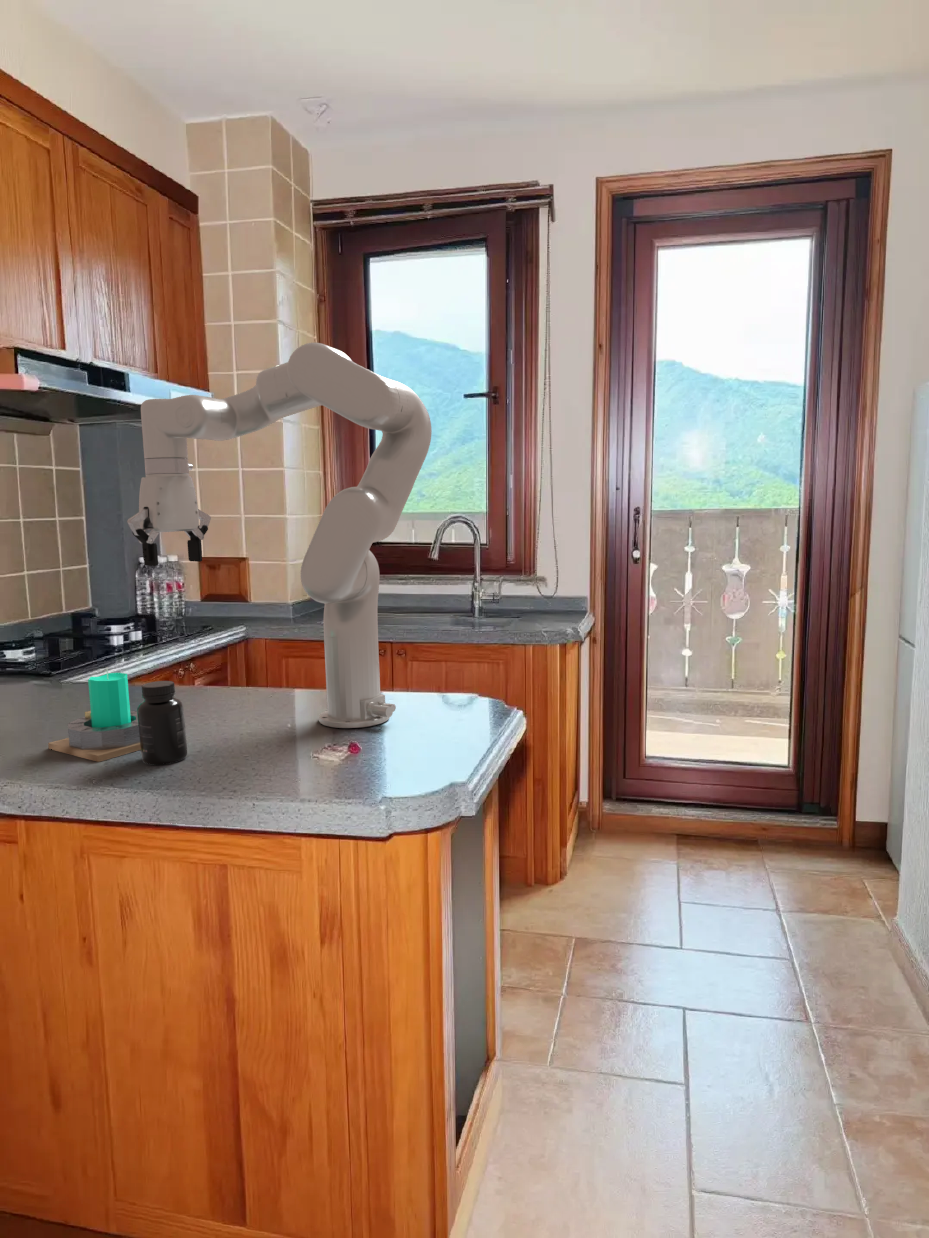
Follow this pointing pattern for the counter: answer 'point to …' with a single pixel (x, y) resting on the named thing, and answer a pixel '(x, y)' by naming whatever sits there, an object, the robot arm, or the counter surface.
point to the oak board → (92, 754)
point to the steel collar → (102, 734)
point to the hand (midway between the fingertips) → (174, 563)
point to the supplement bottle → (161, 724)
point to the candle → (109, 700)
